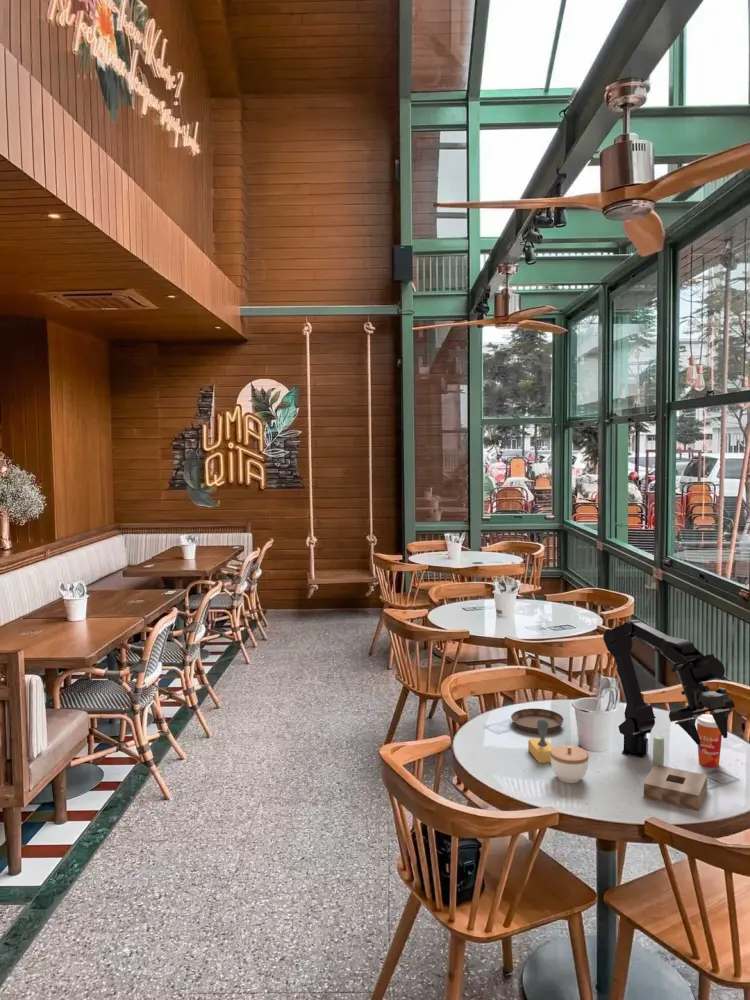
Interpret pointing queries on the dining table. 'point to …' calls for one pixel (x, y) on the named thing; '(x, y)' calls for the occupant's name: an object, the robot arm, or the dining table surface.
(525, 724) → the plant saucer
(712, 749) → the paper cup
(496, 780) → the dining table surface
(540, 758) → the rubber stamp
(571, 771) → the lidded jar
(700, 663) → the robot arm
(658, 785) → the hole block
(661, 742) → the peg
